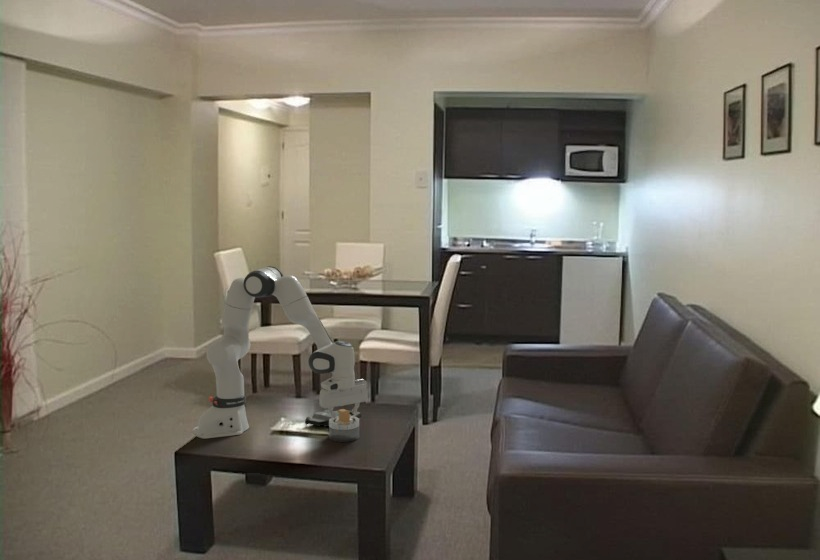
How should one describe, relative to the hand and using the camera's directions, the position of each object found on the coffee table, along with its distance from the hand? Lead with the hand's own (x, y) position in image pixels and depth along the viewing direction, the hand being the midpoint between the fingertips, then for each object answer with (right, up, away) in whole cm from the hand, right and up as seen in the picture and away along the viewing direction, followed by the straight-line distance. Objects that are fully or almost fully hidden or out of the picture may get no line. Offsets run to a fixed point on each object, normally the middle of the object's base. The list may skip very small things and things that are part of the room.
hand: (344, 415), depth 301 cm
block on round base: (0, -4, 0) cm, 4 cm away
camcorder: (-4, -7, +17) cm, 19 cm away
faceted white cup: (0, -9, +1) cm, 9 cm away
